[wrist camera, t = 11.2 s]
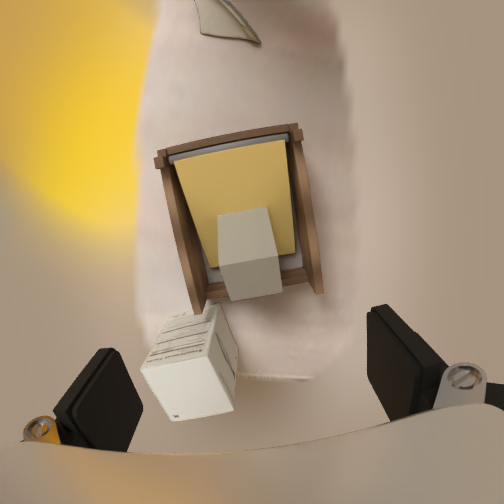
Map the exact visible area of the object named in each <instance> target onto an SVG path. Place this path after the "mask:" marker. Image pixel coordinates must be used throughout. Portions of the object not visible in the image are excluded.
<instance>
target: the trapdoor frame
mask: <svg viewBox="0 0 504 504" xmlns="http://www.w3.org/2000/svg"><path fill="white" fill-rule="evenodd" d="M285 133H287V134H288V137H289V142H285V148H286V157H287V167H288V173H289V179H290V185H291V191H292V196H293V202H294V208H295V215H296V221H297V227H298V234H299V240H300V247H301V253H302V260H303V267H302V268H296V269H291V270H285V271H280V275H281V282H282V286H288V285H293V284H298V283H304V282H309V283H310V285H311V286H312V288H313V290H314V292H315V294H321V293H324V291H323V282H322V274H321V266H320V258H319V250H318V243H317V235H316V228H315V221H314V215H313V208H312V202H311V196H310V189H309V183H308V177H307V172H306V166H305V160H304V155H303V149H302V144H301V141H303V140H304V138H303V133H302V129H298V124H297V123H293V124H289V125H288V124H285V125H278V126H271V127H265V128H259V129H253V130H247V131H242V132H236V133H231V134H226V135H221V136H216V137H211V138H207V139H202V140H198V141H193V142H189V143H185V144H181V145H176V146H172V147H169V148H166V149H162V150H158V151H157V153H158V157H155V158H154V162H155V168H156V169H160V170H161V175H162V180H163V185H164V190H165V195H166V200H167V205H168V210H169V214H170V219H171V223H172V228H173V232H174V237H175V241H176V245H177V250H178V254H179V258H180V262H181V266H182V270H183V274H184V278H185V282H186V286H187V290H188V294H189V297H190V301H191V305H192V308H193V312H194V315H200V314H202V313H203V310H204V307H205V304H206V301H207V299H212V298H219V297H225V296H229V294H228V292H227V289H226V286H225V283H224V281H223V282H217V283H211V284H209V283H208V279H207V275H206V271H205V266H204V262H203V257H202V253H201V249H200V244H199V240H198V235H197V230H196V227H195V224H194V221H193V218H192V215H191V212H190V210H189V207H188V204H187V201H186V198H185V195H184V192H183V189H182V186H181V183H180V180H179V177H178V174H177V171H176V168H175V165H174V164H172V165H170V162H169V156H173V155H177V154H181V153H185V152H190V151H194V150H199V149H203V148H208V147H212V146H217V145H222V144H227V143H232V142H237V141H243V140H248V139H254V138H260V137H266V136H272V135H279V134H285Z"/></svg>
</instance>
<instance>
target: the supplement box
mask: <svg viewBox="0 0 504 504" xmlns="http://www.w3.org/2000/svg"><path fill="white" fill-rule="evenodd" d="M237 361H238V347H237V345H236V343H235V341H234V339H233V336H232V334H231V332H230V329H229V327H228V324H227V322H226V319H225V316H224V314H223V311H222V308H221V305H220V303H217V304H214V305H210V306H207V307H204V310H203V313H202V314H200V315H194V312H193V311H189V312H186V313H182V314H179V315H175V316H172V317H169V319H168V320H167V322H166V324H165V326H164V327H163V329H162V331H161V333H160V334H159V336H158V338H157V340H156V342H155V343H154V345H153V347H152V349H151V351H150V352H149V355H148V356H147V358H146V360H145V362H144V363H143V365H142V367H141V368H140V371H141V373H142V375H143V376H144V378H145V380H146V382H147V383H148V385H149V387H150V388H151V390H152V391H153V393H154V395H155V396H156V398H157V400H158V401H159V403H160V404H161V406H162V408H163V409H164V411H165V412H166V414H167V415H168V417H169V418H170V420H171V421H172V422H173V421H181V420H188V419H194V418H200V417H206V416H212V415H217V414H222V413H227V412H231V411H234V405H235V390H236V389H235V388H236V376H237Z"/></svg>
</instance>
